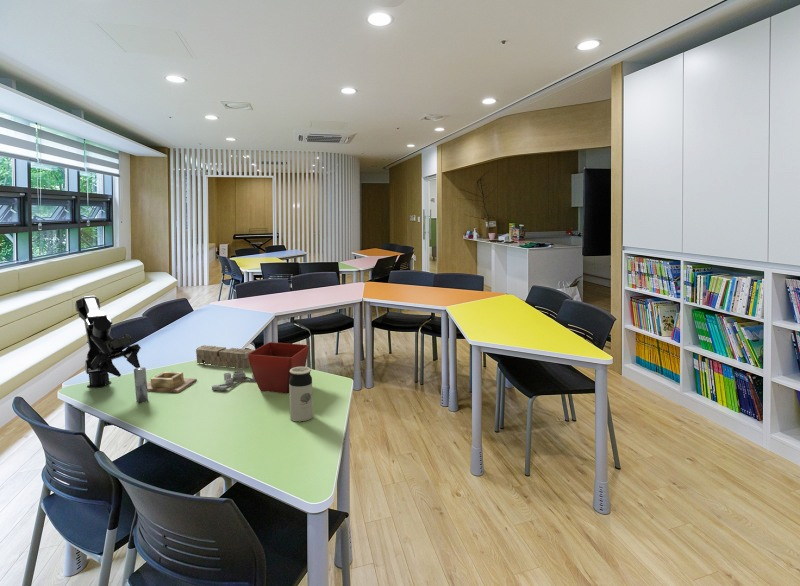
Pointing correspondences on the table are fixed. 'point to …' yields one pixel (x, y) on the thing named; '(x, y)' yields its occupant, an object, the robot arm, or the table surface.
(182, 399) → the table surface
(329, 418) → the table surface
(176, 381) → the socket board
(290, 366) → the plant pot
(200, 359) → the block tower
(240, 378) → the pulley system
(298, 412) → the travel mug
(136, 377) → the metal pin
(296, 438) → the table surface
